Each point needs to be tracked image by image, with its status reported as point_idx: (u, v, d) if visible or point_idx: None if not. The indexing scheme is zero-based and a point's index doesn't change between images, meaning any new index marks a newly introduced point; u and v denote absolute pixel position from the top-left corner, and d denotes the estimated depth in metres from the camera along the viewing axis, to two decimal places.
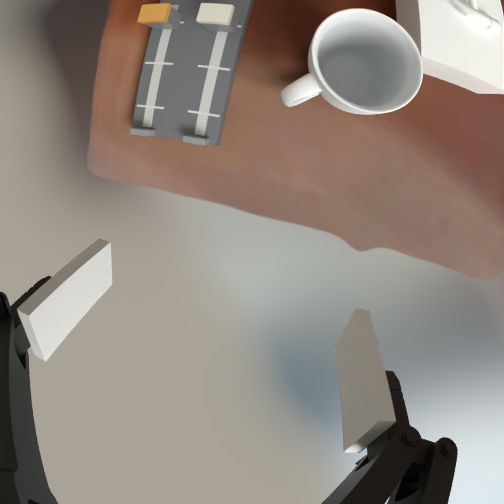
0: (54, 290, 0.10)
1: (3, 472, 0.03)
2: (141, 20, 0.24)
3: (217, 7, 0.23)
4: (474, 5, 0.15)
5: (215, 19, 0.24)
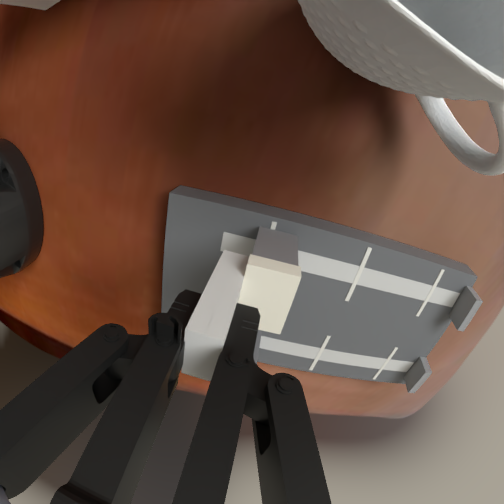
0: (216, 305, 0.12)
1: (89, 503, 0.04)
2: None
3: (251, 295, 0.14)
4: None
5: (286, 301, 0.14)
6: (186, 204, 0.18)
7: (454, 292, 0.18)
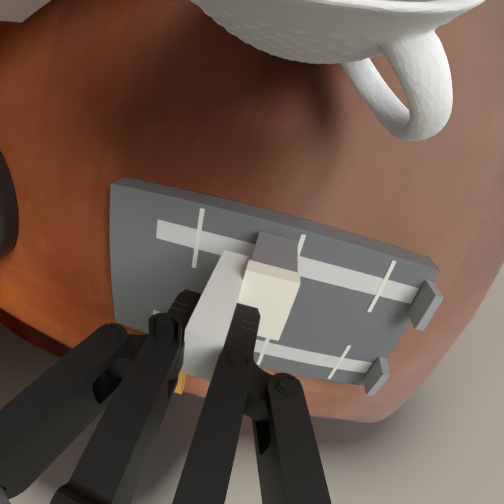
0: (216, 305, 0.12)
1: (89, 503, 0.04)
2: (179, 389, 0.19)
3: (250, 301, 0.14)
4: None
5: (285, 308, 0.14)
6: (124, 193, 0.18)
7: (411, 287, 0.18)
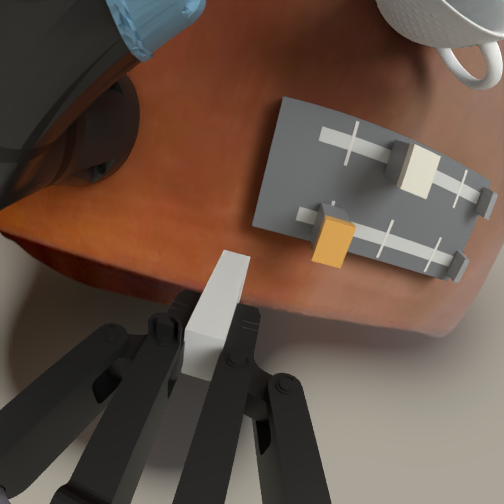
0: (216, 305, 0.12)
1: (89, 503, 0.04)
2: (341, 261, 0.23)
3: (414, 166, 0.19)
4: None
5: (432, 172, 0.19)
6: (296, 105, 0.23)
7: (476, 191, 0.23)
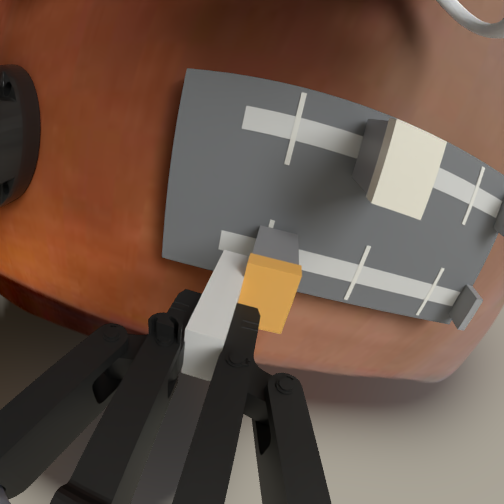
0: (216, 305, 0.12)
1: (89, 503, 0.04)
2: (281, 325, 0.15)
3: (398, 161, 0.10)
4: None
5: (432, 171, 0.10)
6: (205, 78, 0.14)
7: (496, 198, 0.15)
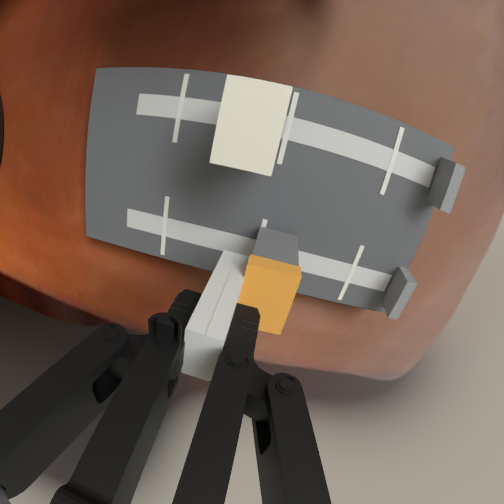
0: (216, 305, 0.12)
1: (89, 503, 0.04)
2: (280, 326, 0.15)
3: (232, 115, 0.10)
4: None
5: (277, 121, 0.10)
6: (109, 75, 0.15)
7: (427, 164, 0.15)
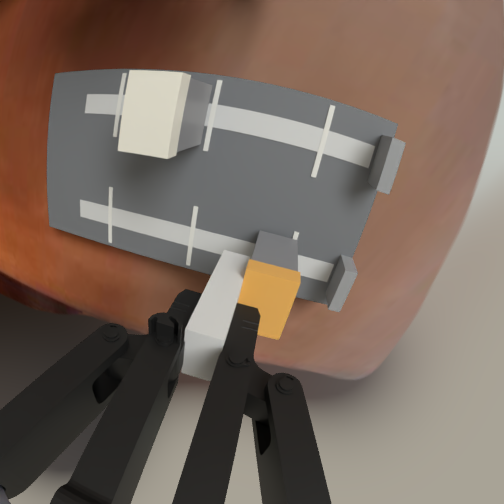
0: (216, 305, 0.12)
1: (89, 503, 0.04)
2: (279, 331, 0.15)
3: (133, 106, 0.11)
4: None
5: (170, 106, 0.10)
6: (64, 79, 0.15)
7: (364, 143, 0.15)
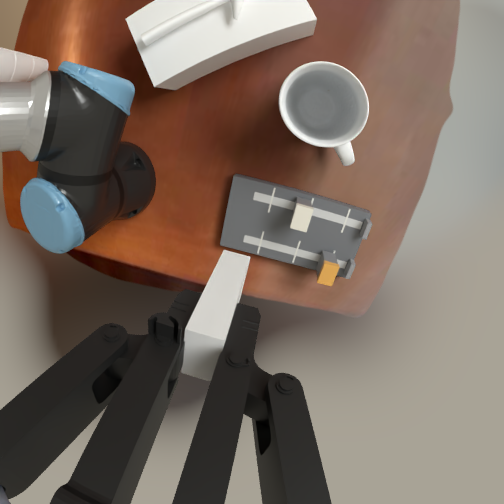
0: (216, 305, 0.12)
1: (89, 503, 0.04)
2: (332, 283, 0.47)
3: (297, 216, 0.42)
4: None
5: (309, 218, 0.42)
6: (240, 180, 0.47)
7: (359, 221, 0.47)
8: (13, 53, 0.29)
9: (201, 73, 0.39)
